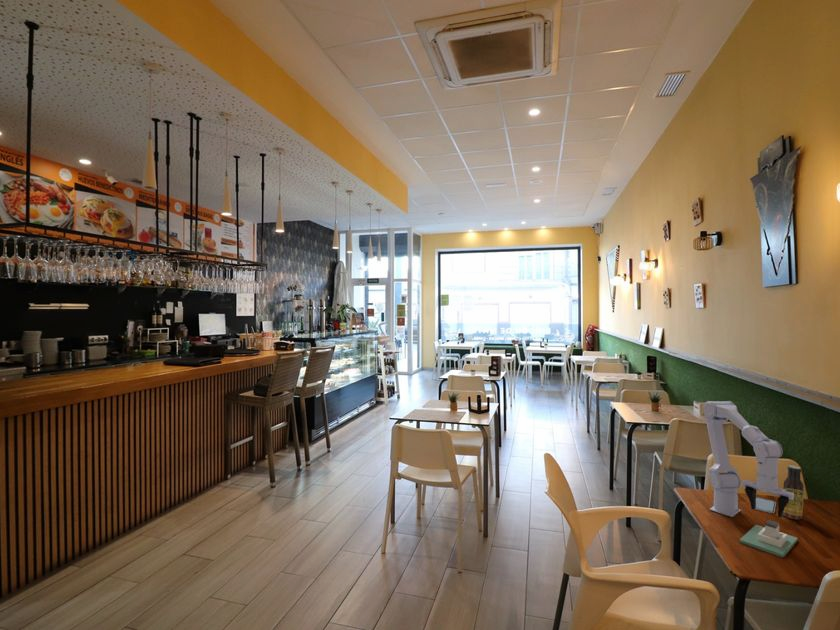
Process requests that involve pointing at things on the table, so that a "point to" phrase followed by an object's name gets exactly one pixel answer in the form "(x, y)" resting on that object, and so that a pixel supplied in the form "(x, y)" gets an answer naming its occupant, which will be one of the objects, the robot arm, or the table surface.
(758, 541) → the socket board
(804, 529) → the table surface
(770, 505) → the smartphone
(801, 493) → the sauce bottle
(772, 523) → the plug
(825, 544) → the table surface
